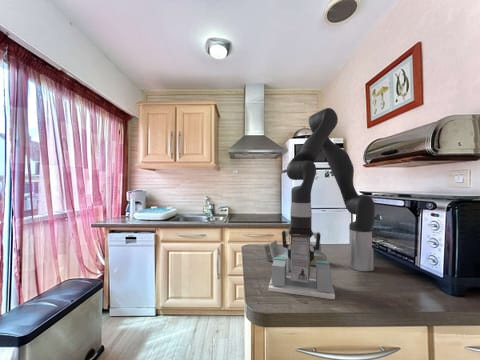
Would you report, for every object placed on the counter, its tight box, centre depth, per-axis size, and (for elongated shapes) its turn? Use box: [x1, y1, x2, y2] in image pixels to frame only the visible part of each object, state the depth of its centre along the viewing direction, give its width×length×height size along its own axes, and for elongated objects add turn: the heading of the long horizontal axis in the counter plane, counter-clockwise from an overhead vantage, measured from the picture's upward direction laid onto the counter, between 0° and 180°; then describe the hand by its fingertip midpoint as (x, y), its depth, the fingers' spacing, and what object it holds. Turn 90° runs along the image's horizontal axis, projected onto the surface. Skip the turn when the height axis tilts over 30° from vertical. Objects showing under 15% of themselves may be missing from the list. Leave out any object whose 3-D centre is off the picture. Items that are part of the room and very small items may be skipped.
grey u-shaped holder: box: [268, 257, 336, 300], centre depth 86 cm, size 22×12×9 cm, turn 75°
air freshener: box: [310, 241, 328, 267], centre depth 113 cm, size 11×8×10 cm
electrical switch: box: [263, 239, 281, 263], centre depth 118 cm, size 9×5×9 cm, turn 152°
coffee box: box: [290, 234, 311, 283], centre depth 87 cm, size 9×6×16 cm
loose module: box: [278, 251, 291, 273], centre depth 106 cm, size 5×7×6 cm
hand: (300, 260), depth 87 cm, fingers closed on coffee box, 6 cm apart
